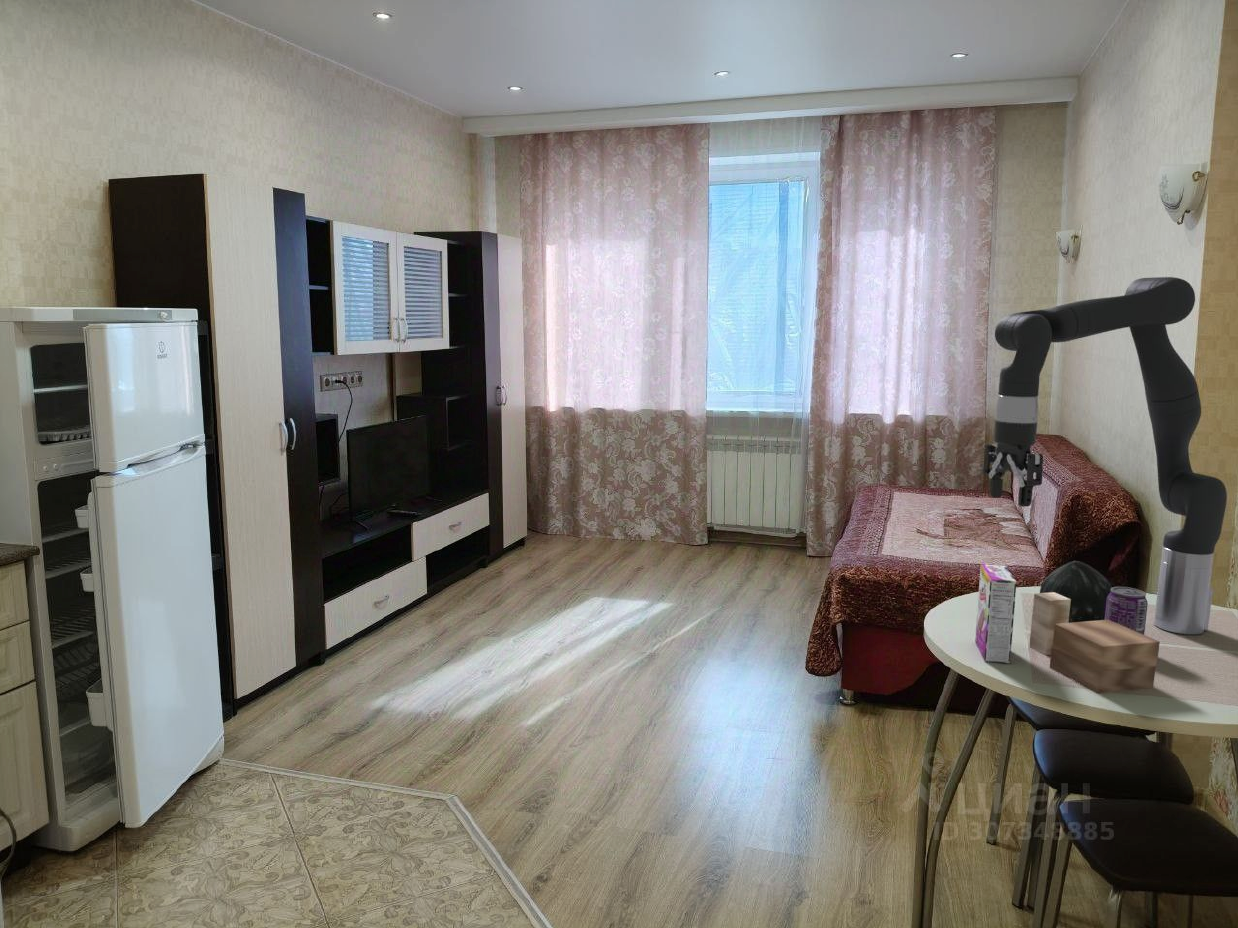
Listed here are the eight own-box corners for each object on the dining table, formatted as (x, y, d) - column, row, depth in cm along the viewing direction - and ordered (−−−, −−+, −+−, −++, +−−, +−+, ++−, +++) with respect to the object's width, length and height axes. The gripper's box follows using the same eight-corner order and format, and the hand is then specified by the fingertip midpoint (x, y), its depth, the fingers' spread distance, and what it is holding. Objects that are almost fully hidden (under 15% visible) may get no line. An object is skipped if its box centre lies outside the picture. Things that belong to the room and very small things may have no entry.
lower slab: (1102, 664, 178) (1104, 641, 177) (1153, 689, 167) (1155, 665, 166) (1049, 669, 175) (1051, 646, 174) (1097, 695, 164) (1099, 670, 163)
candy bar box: (973, 641, 188) (979, 563, 185) (999, 644, 187) (1006, 564, 184) (982, 662, 177) (990, 578, 174) (1010, 664, 176) (1018, 580, 173)
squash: (1107, 589, 206) (1067, 540, 204) (1143, 614, 192) (1100, 561, 189) (1054, 628, 208) (1014, 580, 206) (1085, 656, 194) (1043, 604, 192)
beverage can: (1138, 645, 187) (1144, 588, 185) (1145, 657, 181) (1152, 598, 179) (1099, 641, 190) (1105, 584, 188) (1104, 653, 183) (1111, 594, 181)
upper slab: (1105, 642, 177) (1108, 619, 176) (1156, 665, 166) (1159, 641, 165) (1052, 646, 174) (1054, 623, 173) (1100, 671, 163) (1103, 646, 162)
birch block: (1048, 644, 187) (1054, 592, 185) (1065, 653, 183) (1070, 599, 181) (1029, 646, 186) (1034, 593, 184) (1045, 655, 181) (1050, 600, 180)
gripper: (1058, 423, 173) (1051, 508, 176) (1009, 414, 187) (1002, 493, 190) (1024, 424, 171) (1016, 510, 174) (976, 415, 185) (970, 495, 188)
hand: (1009, 501), depth 182 cm, fingers open, 8 cm apart
